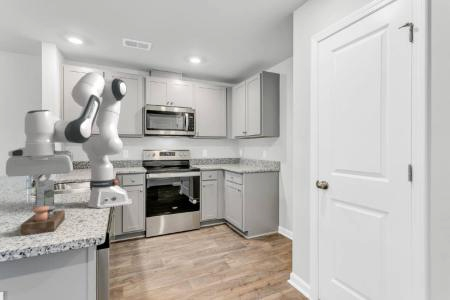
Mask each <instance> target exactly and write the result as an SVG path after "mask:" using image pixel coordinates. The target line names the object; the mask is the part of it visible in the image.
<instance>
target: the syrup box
mask: <svg viewBox="0 0 450 300" xmlns="http://www.w3.org/2000/svg"><path fill="white" fill-rule="evenodd" d="M41 181H45V179H44V180H42V179H41ZM47 183H48V185H47V186H40V187H37V182H36V181H35V199H34V200H35V207H40V206H55V180H53V179H49V180H48V181H47ZM35 207H34V208H35Z"/></svg>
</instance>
